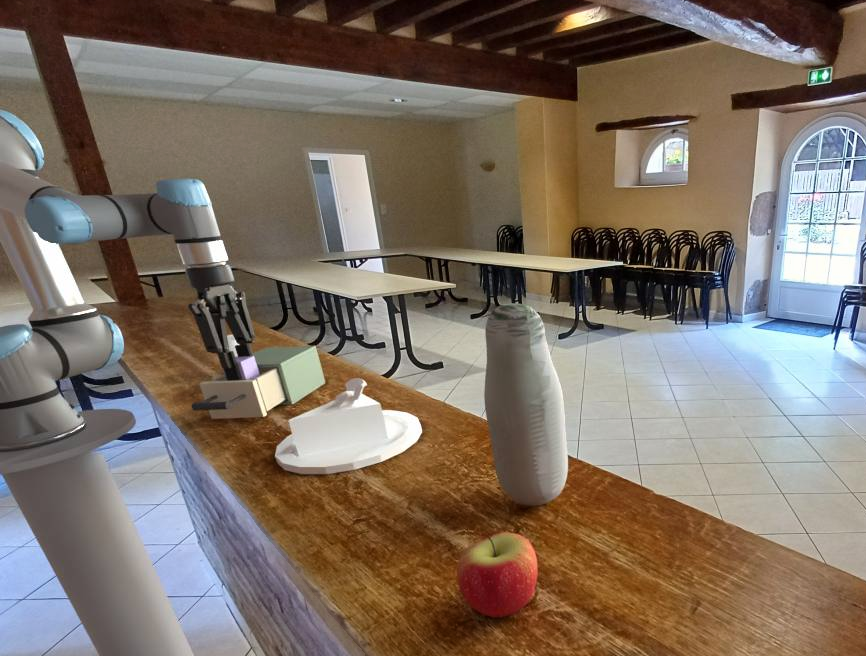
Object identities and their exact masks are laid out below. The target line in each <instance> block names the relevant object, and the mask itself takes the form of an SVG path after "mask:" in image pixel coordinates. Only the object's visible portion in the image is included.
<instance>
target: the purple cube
mask: <svg viewBox="0 0 866 656" xmlns="http://www.w3.org/2000/svg"><path fill="white" fill-rule="evenodd" d="M235 358H236V361H237V365H238V368H239V371H240V374H241V377H242V380H252V379H254V378H256V377H258V376H260V374H259V371H258V367H257V364H256V361H255V358H254V356H244V357H235ZM221 370H222V372H223V375H225V372H224V369H223V368H222V367H221ZM225 378H226V375H225ZM226 381H227V378H226Z"/></svg>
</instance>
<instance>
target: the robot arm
mask: <svg viewBox="0 0 866 656" xmlns="http://www.w3.org/2000/svg"><path fill="white" fill-rule="evenodd" d="M43 158H45V154H44V150H43V147H42V145H41V143H40V140H39V139H38V137H37V136H36V134H35V133H34V131H32V129H31V128H30V127H29V126H28V125H27V124H26V123H25V122H24V121H23V120H22V119H20V118H18V117H17V116H16V115H15V114H13V113H11V112H9V111H7V110H4V109H0V244H1V246H2V248H3V250H4V252H5V255H6V256H7V258H8V261H9V263H10V265H11V266H12V268H13V271H14V273H15V275H16V277H17V280H18V281H19V283H20V285H21V287H22V289H23V291H24V293H25V295H26V296H25V297H26V298H27V300H28V302H29V304H30V306H31V308H32V311H31V313H30V314H29V316H28V318H27V320H28V323H29V325H30V326H29V325H27V324H25V323H15V324H7V325H3V326H0V452H11V451H19V450H25V449H31V448H35V447H40V446H43V445H47V444H51V443H54V442H57V441H60V440H63V439H66V438H69V437H71V436H73V435H75V434H77V433H79V432H81V431H83V430H84V429H85V428H86V427H87V425H86V422H85V420H84V419H83V417H82V416H81V415H80V414H78V411H77V410H76V406H74V404H72V403H69V402H68V400H66V399H65V397H63V396H62V394H61V391H60V390H59V388H58V386H57V383H56V382H57V381H61V380H65V379H69V378H71V377H74V376H78V375H81V374H85V373H88V372H91V371H99V370H101V369H103V368H105V367H108V366H110V365H114V364H115V363H117V362H118V361H119V360H121V357H122V354H124V350H125V342H124V336H123V334H122V331H121V329H120V327H119V326H118V325H117V324H116V323H114V321H113V319H112V318H111V317H108V316H107V315H104V314H100V313H99V311H98V309H97V307H95V306H93V305H91V304H89V303H87V302H86V301H85V300H84V298H83V296H82V293H81V291H80V289H79V286H78V284H77V283H76V280H75V278H74V276H73V273H72V271H71V269H70V267H69V265H68V262H67V260H66V258H65V254H63V250H62V248H61V246H60V245H65V244H69V245H79V244H84V243H91V242H92V243H93V242H101V241H111V240H120V239H130V238H131V239H132V238H134V239H135V238H145V237H153V236H167V235H172V236H173V239H174V243H175V244H176V247H177V250H178V253H179V256H180V259H181V262H182V265H183V266H185V267H186V266H187V268H185V270H184V272H185V275H186V278H187V281H188V283H189V287H191V288H193V289H195V290H196V298H197V300H196V301H195V302H194V303H193V302H192V303H189V304H188V305H187V307H188V309H189V311H190V313H191V314H192V316H193V317H194V320H195V322H196V326H197V328H198V331H199V334H200V336H201V339H202V342H203V345H204V348H205V350H206V352H207V353H211V354H216V355H218V356H217V358H218V360H219V364H220V367H221V369H222V368H223V369H224V372H225V375H226V378H227V381H235V380H242V377H241V374H240V371H239V368H238V365H237V361H236V358H235V355H234V352H233V351H229V344H228V338H227V335H228V332H227V327H226V324H227V326H228V328H229V330H230V331H231V335H233V336H234V338H235V340H236V342H237V344H239V345H236V346H235V349H236V352H237V355H238V357H244V356H253V350H252V347H251V344H255V338H256V334H255V330H254V327H253V323H252V320H251V317H250V313H249V309H248V306H247V299H246V293H245V292H244V291H236V290H235V289H234V287H233V286H232V285H231V284H233V283H235V277H234V273H233V271H232V267H231V265H229V263H227V262H228V261H229V257H228V253H227V250H226V247H225V244H224V241H223V239H222V236H221V232H220V230H219V225H218V222H217V219H216V216H215V212H214V209H213V205H212V201H211V199H210V196H209V193H208V191H207V189H206V186H205V184H204V183H203V182H202V181H201V180H199V179H196V178H176V179H175V178H172V179H162V180H161V179H160V180H158V181H157V182H156V183H155V187H156V190H157V191H156V192H155V193H154V192H153V193H133V194H130V193H129V194H127V193H126V194H104V195H103V194H93V195H92V194H91V195H90V194H89V195H88V194H87V195H81V194H76V193H74V192H71V191H68V190H66V189H64V188H61V187H59V186H57V185H55V184H53V183H50V182H48V181H47V180H44V179H41V178H40V176H39V175H38V171H40V170H41V169H42V168H43V166H44V163H45V160H44V159H43ZM221 345H222V346H221ZM223 369H222V370H223ZM224 372H223V373H224Z"/></svg>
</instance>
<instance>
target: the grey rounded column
mask: <svg viewBox="0 0 866 656" xmlns="http://www.w3.org/2000/svg"><path fill="white" fill-rule="evenodd" d="M545 329H546V328H545V324H544V321H543V320H542V317H541V315H539V313H538V312H537V311H536V310H535V309H534V308H533V307H531V306H529V305H526V304H522V303H504V304H500V305H499V306H497V307H496V308H494V309H493V310H492V311H491V312H490V313H489V315H488V317H487V320H486V324H485V344H486V365H485V375H484V377H485V379H484V390H483V392H484V393H483V397H484V398H483V399H484V409H485V417H486V422H487V429H488V433H489V438H490V444H491V451H492V458H493V465H494V470H495V474H496V479H497V481H498V484H499V485H500V486H501V489H502V491H503V492H504V493H505V495H506V496H507V497H508V498H510V499H511V500H513V501H514V502H516V503H518V504H520V505H522V506H523V505H524V506H528V507H529V506H530V507H536V506H537V507H539V506H542V505H546V504H548V503H550V502H552V501H553V500H555V499H556V498H557V497H558V496H560V494H561V493H562V491H563V490H564V488H565V485H566V482H567V479H568V473H569V457H568V445H567V432H566V431H567V430H566V416H565V402H564V396H563V389H562V386H561V383H560V379H559V376H558V374H557V370H556V368H555V366H554V363H553V360H552V356H551V353H550V350H549V346H548V342H547V339H546V330H545Z"/></svg>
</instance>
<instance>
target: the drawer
mask: <svg viewBox="0 0 866 656" xmlns="http://www.w3.org/2000/svg"><path fill="white" fill-rule="evenodd" d="M258 371H259V374H260V376H258V377H256V378H254V379H252V380H235V381H226V378H225V375H224V374H222V375H219V376H218V377H216V378H214V379H211V380H209V381H202V382H200V383H198V385H199V388H200V390H201V393H202V396H203V399H204V400H203V401H201V402H193V403H192V404H191V409H192V410H193V411H208V414H209V416H210V419H213V420H215V419H216V420H217V419H243V418H244V419H246V418H264V417H266V416H267V415H268V414H267V412H268V411H270V410H272V409H273V408H274V407H277V406H279V405H278V404H279V403H281V402H283V401H284V400H286V399H287V396H286V392H285V389H284V385H283V382H282V379H281V375H280V372H279V368H278V367H269V368H258Z"/></svg>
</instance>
